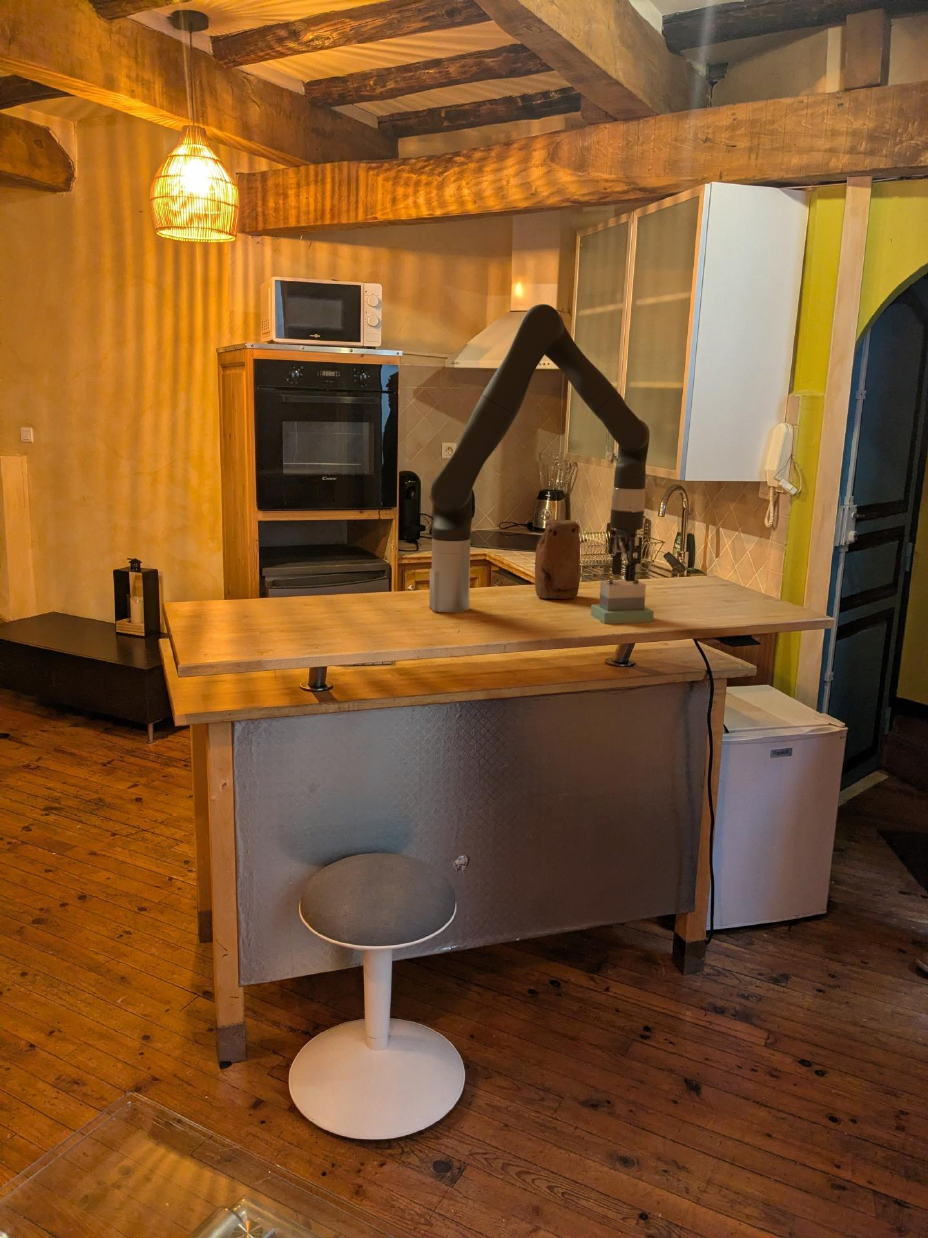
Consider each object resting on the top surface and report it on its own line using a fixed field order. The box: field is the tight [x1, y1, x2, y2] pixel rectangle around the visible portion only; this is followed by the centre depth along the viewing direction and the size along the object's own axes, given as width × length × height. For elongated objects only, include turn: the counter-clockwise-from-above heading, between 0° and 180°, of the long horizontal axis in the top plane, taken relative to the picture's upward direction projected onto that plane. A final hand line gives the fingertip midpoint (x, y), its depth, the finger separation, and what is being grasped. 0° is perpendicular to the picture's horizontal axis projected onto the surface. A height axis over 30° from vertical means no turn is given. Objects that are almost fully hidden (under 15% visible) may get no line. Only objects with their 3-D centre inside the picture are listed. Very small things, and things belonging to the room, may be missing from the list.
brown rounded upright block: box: [534, 519, 581, 600], centre depth 244 cm, size 11×8×20 cm
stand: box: [590, 604, 655, 624], centre depth 223 cm, size 12×9×2 cm
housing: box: [598, 578, 647, 611], centre depth 222 cm, size 9×6×7 cm, turn 103°
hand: (622, 577), depth 221 cm, fingers open, 8 cm apart
